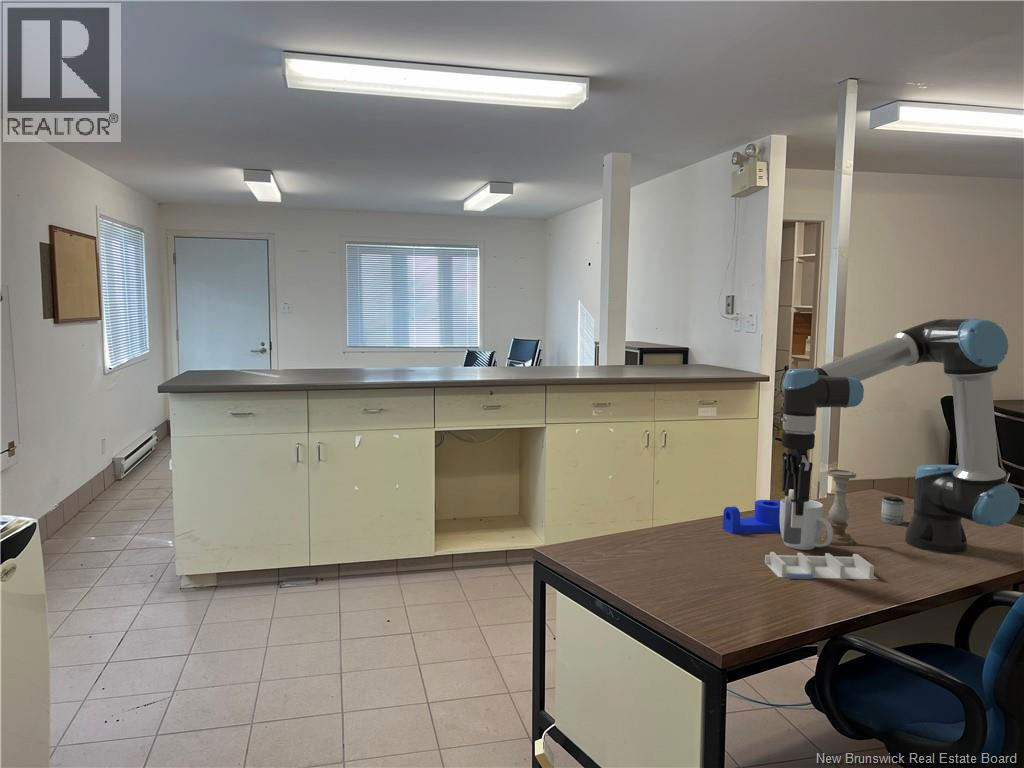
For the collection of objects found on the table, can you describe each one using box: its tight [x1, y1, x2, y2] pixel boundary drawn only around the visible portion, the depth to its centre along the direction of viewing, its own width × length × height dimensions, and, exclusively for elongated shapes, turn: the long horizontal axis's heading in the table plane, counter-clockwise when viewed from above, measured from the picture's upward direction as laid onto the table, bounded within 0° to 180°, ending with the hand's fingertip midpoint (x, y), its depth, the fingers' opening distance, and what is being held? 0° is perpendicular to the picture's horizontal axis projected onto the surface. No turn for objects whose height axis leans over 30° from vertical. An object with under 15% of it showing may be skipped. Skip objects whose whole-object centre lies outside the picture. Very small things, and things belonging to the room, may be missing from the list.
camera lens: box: [880, 496, 906, 526], centre depth 219 cm, size 6×6×8 cm
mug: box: [779, 498, 833, 551], centre depth 191 cm, size 15×11×13 cm
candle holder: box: [820, 469, 857, 547], centre depth 198 cm, size 9×9×20 cm
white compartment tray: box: [764, 551, 879, 580], centre depth 172 cm, size 24×11×4 cm, turn 88°
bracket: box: [722, 499, 781, 535], centre depth 211 cm, size 20×9×8 cm, turn 108°
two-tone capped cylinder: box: [782, 489, 802, 544], centre depth 172 cm, size 4×4×13 cm
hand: (793, 524), depth 172 cm, fingers closed on two-tone capped cylinder, 4 cm apart
